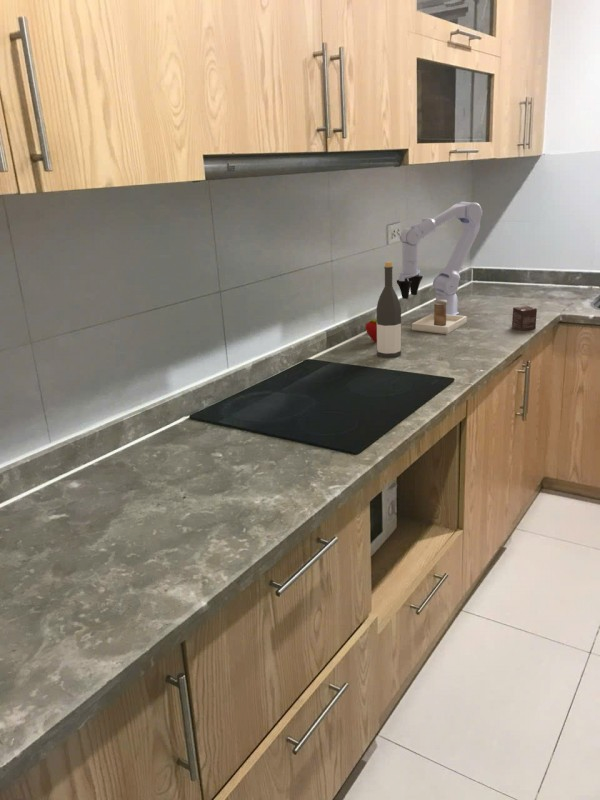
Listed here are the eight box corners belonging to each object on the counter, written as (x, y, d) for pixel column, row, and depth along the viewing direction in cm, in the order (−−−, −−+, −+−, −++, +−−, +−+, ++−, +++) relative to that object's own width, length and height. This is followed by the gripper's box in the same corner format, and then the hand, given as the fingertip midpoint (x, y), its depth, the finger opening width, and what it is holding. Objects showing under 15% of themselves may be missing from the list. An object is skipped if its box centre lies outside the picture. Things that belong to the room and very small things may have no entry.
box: (525, 325, 236) (527, 305, 234) (536, 328, 231) (537, 308, 228) (511, 327, 234) (512, 307, 232) (521, 330, 229) (522, 310, 226)
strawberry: (371, 339, 229) (370, 311, 226) (389, 341, 225) (389, 313, 221) (362, 343, 225) (361, 315, 222) (380, 345, 221) (380, 317, 217)
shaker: (439, 322, 243) (440, 299, 240) (448, 324, 240) (449, 300, 237) (431, 324, 241) (431, 300, 238) (440, 326, 237) (441, 302, 234)
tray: (432, 319, 251) (432, 313, 250) (466, 322, 244) (467, 316, 243) (411, 330, 238) (411, 323, 237) (447, 334, 230) (447, 327, 229)
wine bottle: (372, 353, 213) (370, 261, 202) (393, 349, 215) (393, 259, 205) (383, 359, 206) (383, 265, 195) (405, 355, 208) (406, 262, 198)
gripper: (408, 257, 251) (408, 292, 256) (391, 263, 240) (391, 299, 245) (425, 258, 247) (424, 293, 252) (408, 264, 236) (408, 300, 241)
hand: (409, 296), depth 248 cm, fingers open, 7 cm apart
